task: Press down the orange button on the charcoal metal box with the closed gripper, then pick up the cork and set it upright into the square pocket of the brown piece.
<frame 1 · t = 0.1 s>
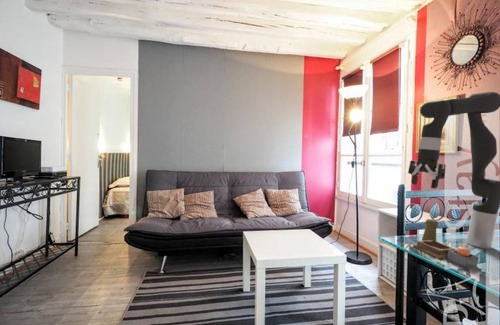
hand: (423, 186, 113), 29 cm above the table, tool pointing down, fingers open, 8 cm apart
button housing: (461, 263, 107), on the table
start button: (463, 252, 107), point 5 cm above the table, slide at 0.0 cm
brown piece: (434, 251, 117), on the table
cork: (428, 241, 130), on the table
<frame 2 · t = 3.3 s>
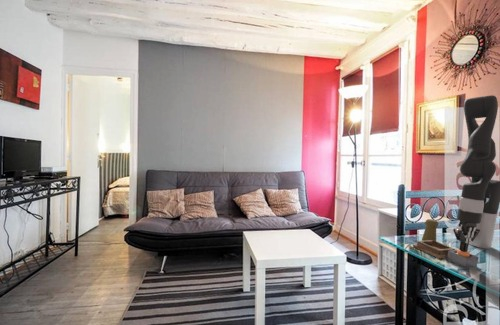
hand: (463, 251, 107), 5 cm above the table, tool pointing down, fingers closed
start button: (462, 255, 107), point 3 cm above the table, slide at 1.0 cm, touching gripper
everything else where it was.
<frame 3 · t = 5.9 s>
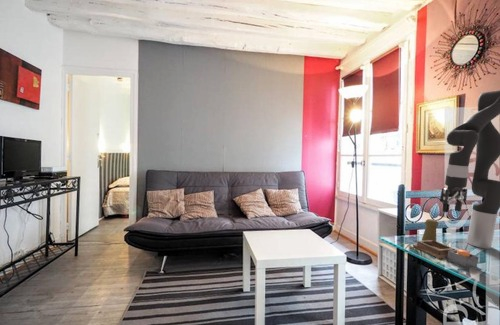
hand: (451, 211, 117), 18 cm above the table, tool pointing down, fingers open, 8 cm apart
start button: (462, 255, 107), point 3 cm above the table, slide at 1.1 cm
everything else where it was.
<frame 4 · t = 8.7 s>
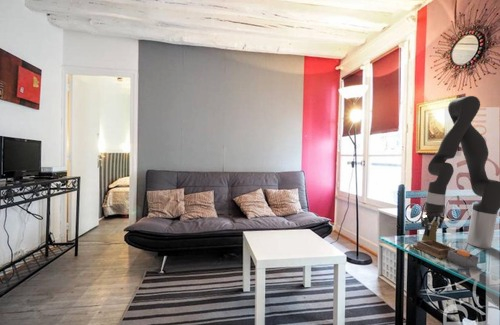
hand: (429, 235, 130), 3 cm above the table, tool pointing down, fingers closed on cork, 4 cm apart
cork: (428, 241, 130), on the table, touching gripper
everything else where it was.
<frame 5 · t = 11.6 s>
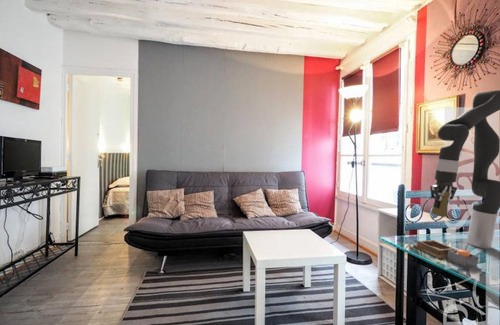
hand: (440, 208, 116), 20 cm above the table, tool pointing down, fingers closed on cork, 4 cm apart
cork: (438, 214, 117), point 17 cm above the table, touching gripper
everything else where it was.
when the fingers open (5 cm above the table, at t = 14.8 s): cork stays where it is, resting on brown piece.
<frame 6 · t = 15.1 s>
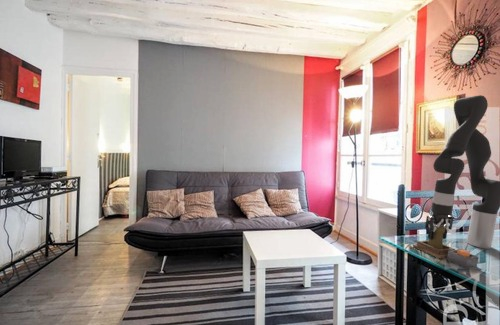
hand: (436, 238, 117), 6 cm above the table, tool pointing down, fingers open, 7 cm apart
cork: (434, 249, 117), point 1 cm above the table, touching brown piece
everything else where it was.
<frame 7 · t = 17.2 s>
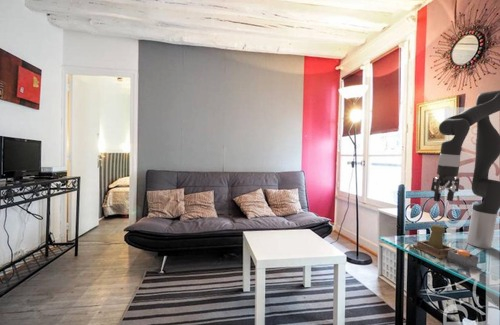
hand: (443, 201, 117), 23 cm above the table, tool pointing down, fingers open, 8 cm apart
nothing on the table moved.
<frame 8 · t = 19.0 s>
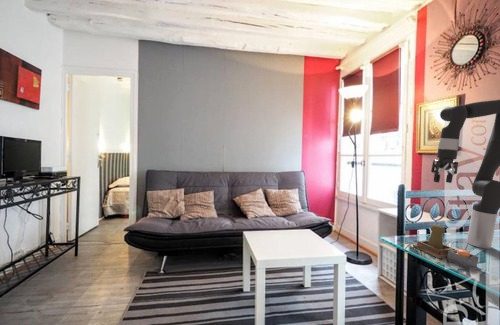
hand: (442, 182, 125), 30 cm above the table, tool pointing down, fingers open, 8 cm apart
nothing on the table moved.
at the end: cork 0.3 cm off-centre on the brown piece, point 0.8 cm above the brown piece's base; cork tilted 0°; start button slide at 1.1 cm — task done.
